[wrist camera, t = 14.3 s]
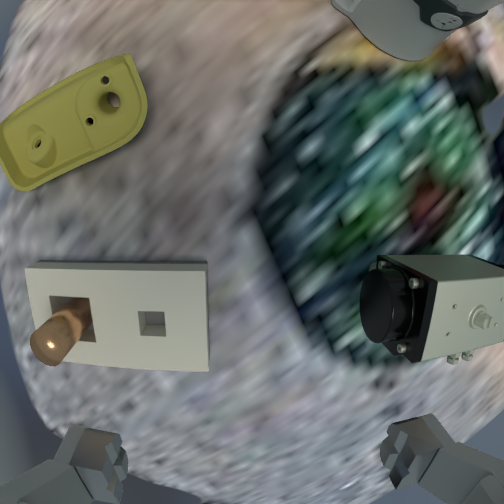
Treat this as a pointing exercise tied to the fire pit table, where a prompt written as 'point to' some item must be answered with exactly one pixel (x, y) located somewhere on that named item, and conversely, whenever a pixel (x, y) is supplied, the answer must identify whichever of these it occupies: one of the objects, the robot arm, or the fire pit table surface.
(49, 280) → the fitting block
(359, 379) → the fire pit table surface
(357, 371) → the fire pit table surface
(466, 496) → the robot arm
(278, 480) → the fire pit table surface
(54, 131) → the plastic component
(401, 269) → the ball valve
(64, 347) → the brown cylinder
